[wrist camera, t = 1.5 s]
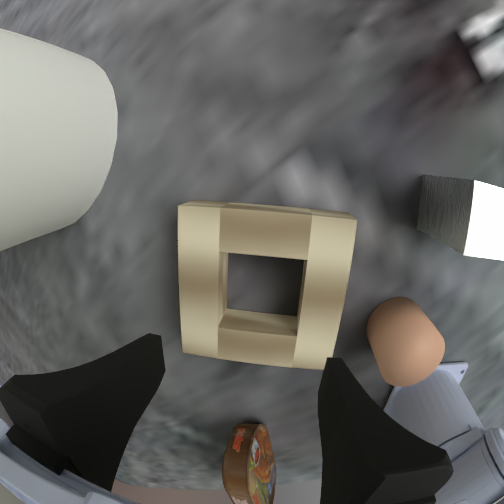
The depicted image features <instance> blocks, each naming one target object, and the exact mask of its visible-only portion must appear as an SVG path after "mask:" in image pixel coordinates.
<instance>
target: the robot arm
mask: <svg viewBox="0 0 504 504" xmlns="http://www.w3.org/2000/svg"><path fill="white" fill-rule="evenodd" d="M467 368H468V364H467V363H466V362H457V363H444V364H439V365H438V367H437V368H436V369H435V370H434V372H433V373H432V374H430V375H429V376H428V377H427V378H425V379H424V380H422V381H420V382H418V383H416V384H413V385H410V386H404V387H398V386H394V388H393V390H392V392H391V394H390V397H389V399H388V401H387V403H386V405H385V408H384V410H382V409H381V408H380V407H379V406H378V405H377V404H376V403H375V402H374V401H373V400H372V398H371V397H370V396H369V395H368V394H367V393H366V391H365V390H364V389H363V388H362V386H361V385H360V384H359V382H358V381H357V380H356V378H355V377H354V376H353V374H352V373H351V371H350V370H349V368H348V367H347V365H346V364H345V363H344V361H343V360H342V358H332V357H327V360H326V364H325V368H324V372H323V376H322V380H321V384H320V387H319V391H318V417H319V427H320V436H321V445H322V458H323V465H322V487H321V499H320V504H493V503H494V502H496V501H497V500H499V499H500V498H501V497H503V496H504V431H503V430H502V429H501V428H493V427H491V428H489V429H488V430H487V431H485V430H484V428H483V426H482V424H481V422H480V420H479V418H478V417H477V415H476V413H475V411H474V409H473V408H472V406H471V404H470V402H469V401H468V399H467V397H466V396H465V394H464V392H463V390H462V389H461V387H460V385H459V384H460V382H461V380H462V378H463V376H464V374H465V372H466V370H467ZM164 373H165V364H164V356H163V348H162V339H161V336H160V335H155V334H150V333H149V334H146V335H144V336H142V337H140V338H139V339H137V340H135V341H133V342H131V343H129V344H127V345H125V346H124V347H122V348H120V349H118V350H116V351H114V352H112V353H110V354H108V355H105V356H103V357H101V358H99V359H97V360H94V361H92V362H89V363H86V364H83V365H80V366H77V367H74V368H70V369H66V370H62V371H57V372H52V373H45V374H35V375H14V376H13V377H12V378H10V379H9V380H8V381H7V382H6V383H5V384H4V385H3V386H2V387H1V388H0V401H1V402H2V405H3V406H4V408H5V410H6V412H7V413H8V415H9V417H10V418H11V420H12V421H13V423H14V425H13V426H12V427H11V428H10V426H9V425H8V424H7V423H6V422H4V421H3V420H2V419H1V418H0V483H2V485H4V486H5V487H6V488H7V489H8V490H9V491H11V492H12V493H13V494H14V495H15V496H16V497H18V498H19V499H20V500H21V501H23V502H24V503H25V504H140V503H137V502H134V501H132V500H129V499H127V498H124V497H121V496H119V495H117V494H114V493H112V492H111V489H112V486H113V482H114V479H115V475H116V472H117V469H118V467H119V464H120V461H121V458H122V455H123V453H124V450H125V448H126V445H127V443H128V441H129V438H130V436H131V434H132V432H133V429H134V427H135V426H136V424H137V422H138V420H139V419H140V417H141V415H142V414H143V412H144V411H145V409H146V407H147V406H148V404H149V403H150V401H151V399H152V398H153V396H154V394H155V393H156V391H157V389H158V387H159V385H160V383H161V381H162V378H163V376H164ZM497 504H504V499H502V500H501V501H499V502H498V503H497Z"/></svg>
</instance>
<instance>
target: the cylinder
mask: <svg viewBox="0 0 504 504" xmlns="http://www.w3.org/2000/svg"><path fill="white" fill-rule="evenodd" d="M117 112H118V111H117V106H116V101H115V96H114V90H113V87H112V85H111V83H110V81H109V79H108V77H107V75H106V73H105V71H104V70H102V69H101V68H100V67H99V66H98V65H97V64H96V63H95V62H94V61H92V60H90V59H88V58H85V57H83V56H80V55H78V54H75V53H73V52H70V51H67V50H65V49H62V48H60V47H57V46H54V45H51V44H48V43H46V42H43V41H40V40H37V39H34V38H31V37H28V36H24V35H21V34H18V33H15V32H11V31H8V30H4V29H0V251H3V250H5V249H8V248H10V247H13V246H15V245H18V244H21V243H23V242H26V241H29V240H31V239H34V238H37V237H40V236H42V235H45V234H48V233H51V232H54V231H57V230H60V229H62V228H64V227H66V226H69V225H71V224H73V223H75V222H76V221H77V220H78V219H79V218H81V217H82V216H83V215H84V214H85V213H86V212H87V211H88V210H89V209H90V207H91V206H92V204H93V203H94V201H95V199H96V198H97V196H98V195H99V193H100V192H101V190H102V188H103V185H104V182H105V180H106V177H107V175H108V172H109V170H110V167H111V164H112V159H113V154H114V149H115V144H116V140H117Z"/></svg>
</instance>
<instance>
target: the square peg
mask: <svg viewBox="0 0 504 504" xmlns="http://www.w3.org/2000/svg"><path fill="white" fill-rule="evenodd" d="M416 228H417V229H418V230H420V231H422V232H424V233H426V234H427V235H429V236H431V237H433V238H435V239H436V240H438V241H440V242H442V243H443V244H445V245H447V246H449V247H450V248H452V249H454V250H455V251H457V252H459V253H460V254H462V255H465V256H473V257H481V258H489V259H496V260H504V189H502V188H499V187H496V186H493V185H489V184H486V183H483V182H479V181H475V180H469V179H460V178H452V177H442V176H432V175H423V176H422V187H421V196H420V204H419V212H418V219H417V226H416Z"/></svg>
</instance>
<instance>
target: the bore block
mask: <svg viewBox="0 0 504 504" xmlns="http://www.w3.org/2000/svg"><path fill="white" fill-rule="evenodd" d="M356 226H357V219H355V218H354V217H353V216H352V215H350V214H349V213H346V212H337V211H327V210H317V209H307V208H297V207H285V206H273V205H261V204H247V203H232V202H216V201H198V200H193V201H190V202H187V203H184V204H181V205H178V271H179V299H180V318H181V334H182V348H183V352H184V353H189V354H195V355H200V356H206V357H212V358H218V359H225V360H232V361H239V362H246V363H254V364H263V365H272V366H282V367H293V368H306V369H321V370H324V368H325V364H326V360H327V357H332V355H333V351H334V347H335V343H336V339H337V334H338V330H339V325H340V320H341V316H342V311H343V306H344V301H345V295H346V290H347V285H348V279H349V273H350V267H351V261H352V254H353V248H354V241H355V234H356ZM228 252H229V253H239V254H250V255H260V256H271V257H282V258H292V259H303V260H304V266H303V274H302V282H301V290H300V298H299V305H298V313H297V316H291V315H280V314H270V313H261V312H252V311H243V310H235V309H227V283H228Z"/></svg>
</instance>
